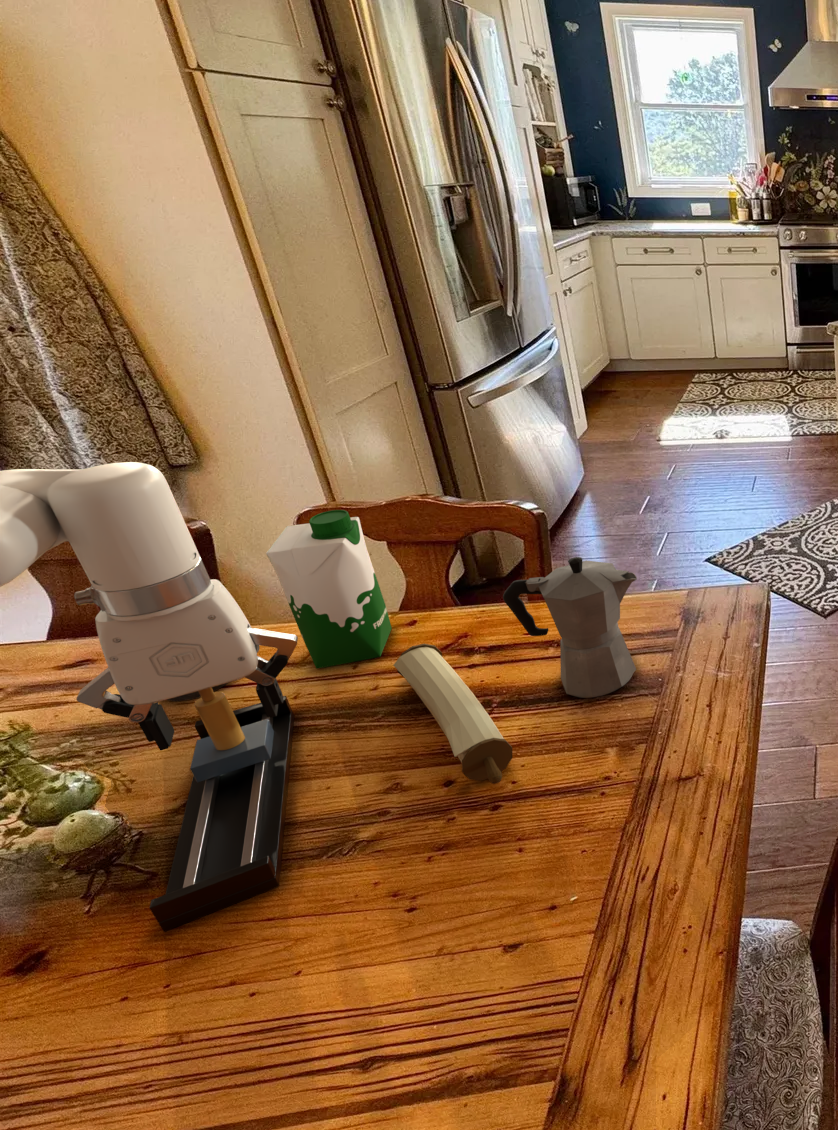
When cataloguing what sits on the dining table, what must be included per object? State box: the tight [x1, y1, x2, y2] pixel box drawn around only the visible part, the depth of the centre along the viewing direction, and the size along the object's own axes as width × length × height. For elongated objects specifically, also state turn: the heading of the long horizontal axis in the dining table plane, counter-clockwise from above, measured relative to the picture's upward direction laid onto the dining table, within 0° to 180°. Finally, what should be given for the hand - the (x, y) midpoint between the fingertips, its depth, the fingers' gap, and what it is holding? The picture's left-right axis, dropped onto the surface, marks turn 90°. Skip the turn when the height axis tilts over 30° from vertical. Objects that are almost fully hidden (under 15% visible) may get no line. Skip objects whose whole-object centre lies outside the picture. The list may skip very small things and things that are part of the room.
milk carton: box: [265, 509, 393, 670], centre depth 101 cm, size 9×9×20 cm
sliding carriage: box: [190, 687, 274, 782], centre depth 82 cm, size 6×5×10 cm
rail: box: [149, 695, 295, 932], centre depth 80 cm, size 8×28×3 cm, turn 36°
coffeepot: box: [502, 556, 638, 699], centre depth 97 cm, size 15×9×18 cm, turn 104°
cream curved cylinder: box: [392, 643, 513, 785], centre depth 91 cm, size 32×6×5 cm, turn 47°
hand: (222, 724), depth 82 cm, fingers open, 8 cm apart
